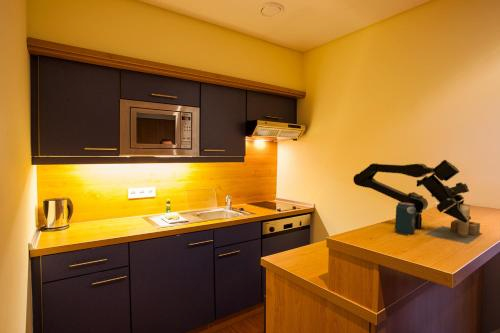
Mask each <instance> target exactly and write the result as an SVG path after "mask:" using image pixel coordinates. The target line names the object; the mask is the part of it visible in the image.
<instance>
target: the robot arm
mask: <svg viewBox="0 0 500 333" xmlns="http://www.w3.org/2000/svg"><path fill="white" fill-rule="evenodd" d="M377 173H386V174H387V173H388V174H389V173H390V174H400V175H404V176H408V177H412V178H421V179H417V180H416V187H418V188H419V187H421V186H422V187H424V188H425V189H426V190H427V191H428V192H429V193H430V196H431V197H432V198H435V199H436V200H437V202H438V204H437V205H436V210H437V211H439V212H440V213H442V212H443V214H446V215H448V216H450V217H451V218H454V219H455V220H456V219H458V220H460V221H462V222H464V223H466V222H468V221H467V219H466V218H465V216H464V215H463V214H462V212H461V211H460V210H459V208H460V204H465V197H464V196H463V195H462V194H465V193H469V192H470V190H469V188H468V185H467V183H463V182H457V183H455V186H452V187H450V186H449V185H445V184H443V183H442V182H443V181H445V182H447V181H449V180H451V178H453V177H454V176H456V175H458V173H460V170H459V169H458V168H457V167H456V165H455V164H452V163H451V162H449V161H448V160H447V159H443V160H442V161H441V162H440V163H439V164H437V165H436V166H435V167H429V166H427V165H426V164H425V163H413V164H404V165H403V164H386V163H383V164H382V163H375V162H374V163H370V164H369V165H368V166H367V167H366V168H364V169H363V170H361V171H360V172H359V173H356V174H355V175H354V176H353V183H354V185H356V186H359V187H363V188H368V189H372V190H374V191H376V192H378V193H381V194H383V195H384V196H387V197H388V198H389V197H390V198H391V199H393V200H396V201H398V202H407V203H413V204H414V206H415V208H416V216H415V230H424V227H422V223H423V222H422V221H423V217H422V213H423V211H425V210H426V209H427V208H428V206H429V202H428V200H427V198H425V197H424V195H420V194H418V193H416V192H415V191H413V192H408V193H406V192H404V191H401V190H399V189H397V188H394V187H392V186H389V185H388V184H387V185H386V184H384V183H383V182H379V181H378V180H377V179H375V178H374V177H375V176H376V174H377ZM429 174H431V175H429ZM427 175H429V176H427ZM441 181H442V182H441ZM471 219H472V218H471V216H470V215H469V221H470V220H471Z"/></svg>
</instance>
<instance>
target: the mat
mask: <svg viewBox="0 0 500 333" xmlns="http://www.w3.org/2000/svg"><path fill="white" fill-rule="evenodd" d="M450 229H451V226H445V225H442V226H440V227H439V226H438V227H437V228H434V229H433V230H431V231H428V232H426V233H425V234H424V235H425V236H429V237H434V238H439V239H442V240H443V239H444V240H446V241H447V240H448V241H452V242H458V243H461V244H467V245H469V244H471V242H473V241H474V240H476V239H477V238H479V237H480V236H481V235H483V233H481V232H480V233H479V234H477V235H476V236H470V235H468V238H461V237H458V233H455V232H450Z"/></svg>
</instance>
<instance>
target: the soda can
mask: <svg viewBox="0 0 500 333" xmlns="http://www.w3.org/2000/svg"><path fill="white" fill-rule="evenodd" d="M415 216H416V208H415V206H414V204H413V203H407V202H400V201H398V202H397V205H396V206H395V218H394V220H395V221H394V222H395V223H394V230H395V232H396V233H397V234H399V235H403V236H409V235H413V234H414V233H415V231H416V229H415Z"/></svg>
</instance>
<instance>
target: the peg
mask: <svg viewBox="0 0 500 333" xmlns="http://www.w3.org/2000/svg"><path fill="white" fill-rule="evenodd" d="M459 210H460V211H461V212H462V214H463V215H464V216H465V218H466V219H467V221H468V222H466V223H464V222H462V221H460V220H459V222H458V237H461V238H468V229H469V221H470V220H469V216H470V214H471V213H470V212H471V205H470V204H466V203H464V204H460V208H459Z"/></svg>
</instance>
